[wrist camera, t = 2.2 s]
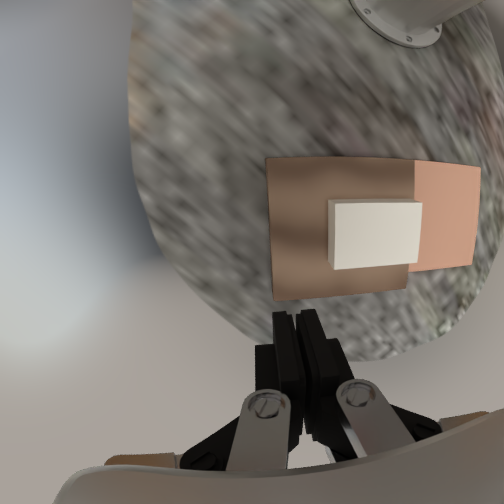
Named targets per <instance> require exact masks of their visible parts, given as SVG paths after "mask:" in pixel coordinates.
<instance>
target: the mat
mask: <svg viewBox="0 0 504 504" xmlns="http://www.w3.org/2000/svg"><path fill="white" fill-rule="evenodd" d="M480 171H481V167H474V166H467V165H459V164H451V163H442V162H432V161H421V160H415V191H414V200H416V201H419V202H422V219H421V232H420V243H419V252H418V260H417V263H409V269H408V272H414V271H423V270H432V269H440V268H448V267H457V266H464V265H472V259H473V253H474V247H475V240H476V232H477V223H478V213H479V199H480Z"/></svg>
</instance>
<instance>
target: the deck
mask: <svg viewBox="0 0 504 504" xmlns="http://www.w3.org/2000/svg"><path fill="white" fill-rule="evenodd" d="M265 162H266V178H267V195H268V213H269V232H270V253H271V275H272V293H273V300H274V301H283V300H297V299H309V298H321V297H332V296H343V295H353V294H362V293H372V292H380V291H389V290H397V289H405V288H406V283H407V276H408V269H409V263H408V264H397V265H386V266H375V267H363V268H351V269H338V270H334V269H333V267H332V266H331V264H330V263H329V262H328V200H333V199H413V200H414V191H415V160H409V159H393V158H373V157H284V158H265Z"/></svg>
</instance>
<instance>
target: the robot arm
mask: <svg viewBox="0 0 504 504" xmlns="http://www.w3.org/2000/svg"><path fill="white" fill-rule="evenodd" d="M483 1H484V0H350V2H351V4H352V6H353V8H354V9H355V10H356V12H357V13H358V15H359V16H360V17H361V18H362V19H363V20H364V22H365V23H367V24H368V25H369V26H370V27H371V28H372V29H373V30H375V31H376V32H377V33H379V34H380V35H382V36H383V37H385V38H387V39H388V40H390V41H392V42H395V43H397V44H399V45H402V46H406V47H410V48H424V47H427V46H429V45H431V44H433V43H435V42H436V41H437V40H438V39H439V37H440V35H441V32H442V23H443V22H445V21H447V20H449V19H450V18H452V17H454V16H456V15H458V14H459V13H461V12H463V11H465V10H467V9H469V8H471V7H473V6H475V5H477V4H479V3H481V2H483ZM272 319H273V344H266V345H255V382H256V383H255V386H256V387H255V392H253V393H251V394H250V395H249V396H248V397H247V398H246V399H245V400H244V402H243V405H242V409H241V413H240V416H238V417H237V418H236V419H234V420H233V421H231V422H230V423H229V424H227V425H226V426H224V427H223V428H221V429H220V430H218V431H217V432H215V433H214V434H212V435H211V436H209V437H208V438H206V439H205V440H203V441H202V442H200V443H198V444H197V445H195V446H194V447H192V448H190V449H189V450H187V451H186V452H185V453H184V454H181V455H175V454H174V453H173V452H172V453H159V454H141V455H138V454H137V455H116V456H113V457H111V458H109V459H108V460H107V461H106V462H105V464H104V466H97V467H91V468H87V469H83V470H80V471H78V472H76V473H75V474H73V475H72V476H71V477H70V478H69V479H68V480H67V481H66V482H65V484H64V485H63V486H62V488H61V490H60V491H59V493H58V494H57V496H56V498H55V500H54V503H53V504H504V409H500V410H496V411H494V412H491V413H489V412H486V411H480V412H475V413H470V414H466V415H460V416H455V417H449V418H442V419H440V420H439V422H435V421H434V420H432V419H430V418H427V417H424V416H422V415H419V414H416V413H413V412H410V411H407V410H405V409H402V408H399V407H397V406H394V405H391V404H389V403H388V401H387V400H386V398H385V397H384V395H383V394H382V393H381V391H380V390H379V389H378V387H377V386H376V385H375V384H373V383H372V382H370V381H367V380H363V379H355V378H354V376H353V374H352V371H351V369H350V366H349V364H348V361H347V359H346V357H345V354H344V352H343V350H342V347H341V345H340V343H339V341H338V339H337V338H333V339H326V336H325V333H324V331H323V328H322V326H321V323H320V320H319V318H318V315H317V313H316V310H315V309H307V310H301V314H296V331H295V326H294V322H293V318H292V314H289V315H287V313H286V311H281V312H272ZM303 418H304V423H305V429H306V433H307V434H312V438H313V441H318V442H319V443H321V444H323V445H325V446H326V447H325V449H326V453H327V455H328V458H329V460H330V463H331V464H325V465H319V466H311V467H303V468H294V469H287V466H288V454H289V452H291V451H292V450H293V449H294V448H295V447H296V446H297V445H298V444H299V435H301V434H302V428H303Z"/></svg>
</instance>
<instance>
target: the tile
mask: <svg viewBox="0 0 504 504" xmlns="http://www.w3.org/2000/svg"><path fill="white" fill-rule="evenodd" d="M421 219H422V202H419V201H416V200H413V199H333V200H328V262H329V263H330V264H331V266H332V267H333V269H334V270H338V269H351V268H363V267H375V266H386V265H397V264H408V263H417V260H418V252H419V243H420V232H421Z"/></svg>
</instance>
